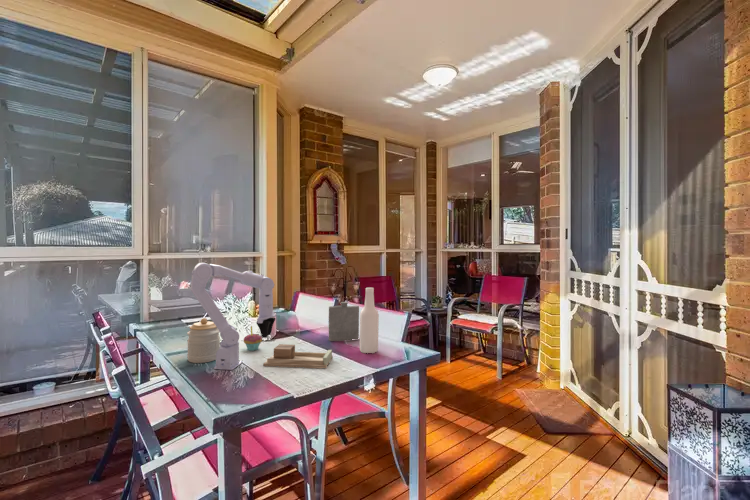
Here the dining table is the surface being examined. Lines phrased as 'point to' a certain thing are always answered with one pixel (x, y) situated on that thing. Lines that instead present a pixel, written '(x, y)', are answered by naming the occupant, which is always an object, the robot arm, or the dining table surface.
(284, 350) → the block
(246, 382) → the dining table surface
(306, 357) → the bay
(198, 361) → the jar
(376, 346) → the alcohol
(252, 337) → the cupcake
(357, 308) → the hip flask
